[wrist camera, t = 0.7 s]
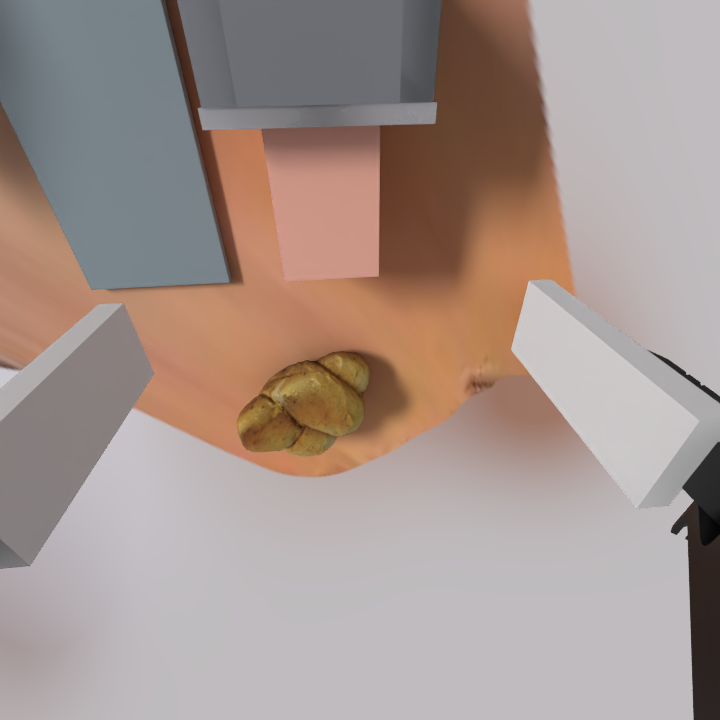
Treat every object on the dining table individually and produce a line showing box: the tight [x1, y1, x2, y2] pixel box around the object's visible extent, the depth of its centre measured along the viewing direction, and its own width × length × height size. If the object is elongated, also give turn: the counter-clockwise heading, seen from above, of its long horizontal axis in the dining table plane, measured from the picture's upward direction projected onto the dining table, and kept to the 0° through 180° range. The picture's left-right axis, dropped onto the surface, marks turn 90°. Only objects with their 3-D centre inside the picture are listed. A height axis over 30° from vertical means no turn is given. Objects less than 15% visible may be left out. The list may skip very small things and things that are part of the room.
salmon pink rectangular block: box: [262, 125, 380, 281], centre depth 22 cm, size 13×6×8 cm, turn 1°
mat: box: [0, 0, 232, 290], centre depth 24 cm, size 18×11×1 cm, turn 1°
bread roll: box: [237, 351, 370, 456], centre depth 35 cm, size 13×10×8 cm
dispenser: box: [177, 0, 442, 130], centre depth 18 cm, size 8×10×10 cm
